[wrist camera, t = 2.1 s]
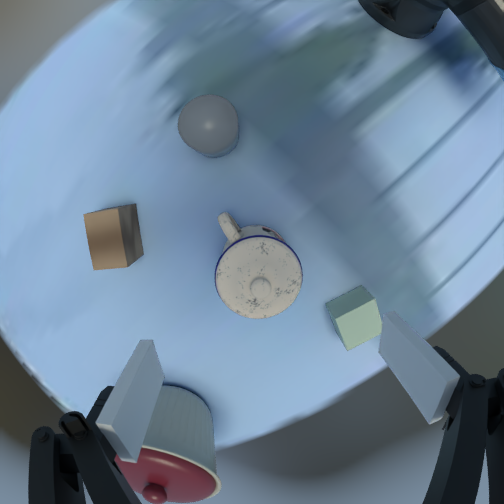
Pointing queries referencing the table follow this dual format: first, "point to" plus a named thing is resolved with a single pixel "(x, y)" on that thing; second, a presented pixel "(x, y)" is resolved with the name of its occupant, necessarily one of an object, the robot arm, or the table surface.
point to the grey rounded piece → (209, 125)
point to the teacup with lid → (256, 270)
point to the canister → (175, 451)
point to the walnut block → (113, 237)
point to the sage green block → (355, 317)
